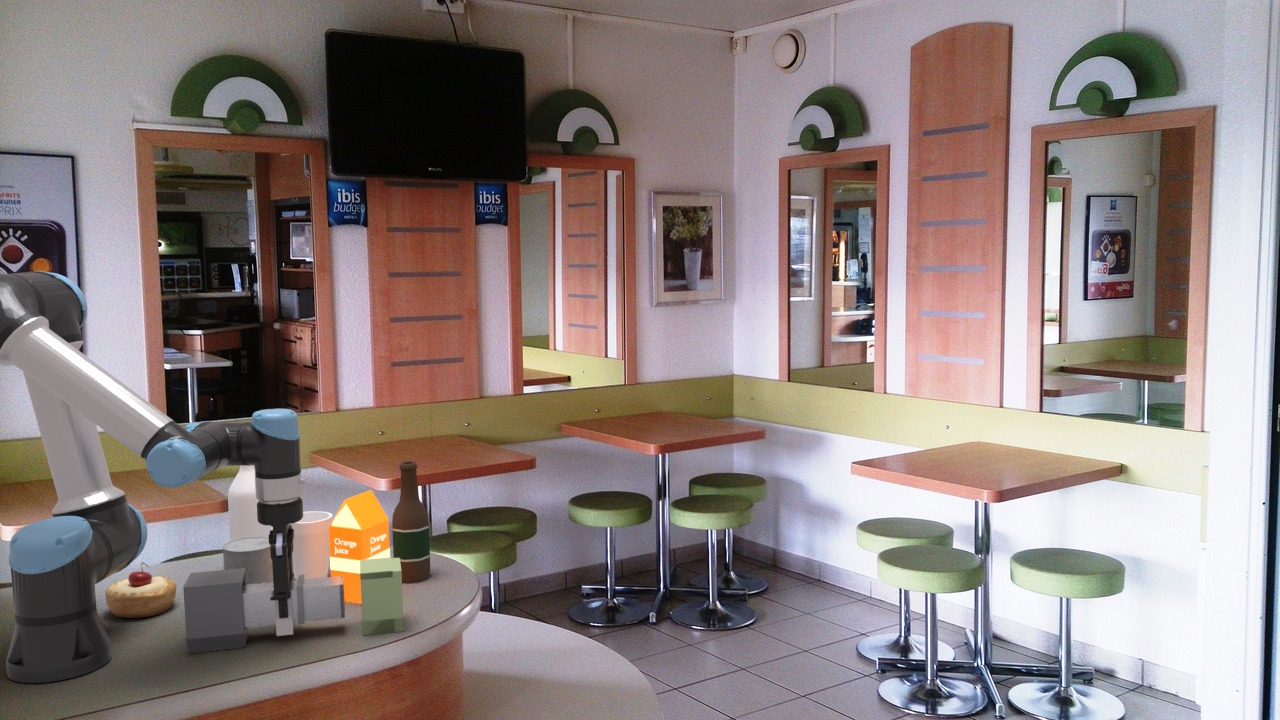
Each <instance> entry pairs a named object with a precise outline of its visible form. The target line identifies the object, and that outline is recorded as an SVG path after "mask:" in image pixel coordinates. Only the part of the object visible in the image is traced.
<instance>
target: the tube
mask: <svg viewBox="0 0 1280 720" xmlns="http://www.w3.org/2000/svg"><path fill="white" fill-rule="evenodd" d="M290 594H291V597H292V615H293V624H296V623H298V625H303V624H305V623H307V622H313V621H314V622H315V621H325V620H334V619H345V616H346V602H345V596H344V576H336V577H331V576H327V577H324V578H313V579H305V574H302V575H299V576H298V580H295V579H293V580H291V581H290ZM273 595H274V587H273V582H269V583H258V584H246V585H242V602H243V620H244V628H246V627H249V628H255V627H263V626H265V627H266V626H276V614H275V600H273V601H271V600H270V597H273Z"/></svg>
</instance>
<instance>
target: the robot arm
mask: <svg viewBox="0 0 1280 720" xmlns="http://www.w3.org/2000/svg"><path fill="white" fill-rule="evenodd" d="M87 316H88V303H87V299H86V297H85V295H84V293H83V291H82V290H81V289H80V287H79V286H78V285H77V284H76V283H75V282H74V281H72V280H71V279H69V278H68V277H66V276H64V275H62V274H59V273H55V272H47V271H41V270H37V271H27V272H16V273H15V272H14V273H0V364H1V365H2V366H15V367H17V369H19V370H21V371H22V373H23V376H24V380H25V384H26V387H27V390H28V391H27V392H28V395H29V398H30V401H31V406H32V409H33V414H34V417H35V421H36V423H37V426H38V430H39V433H40V437H41V440H42V441H41V442H42V445H43V449H44V451H45V455H46V460H47V462H48V466H49V469H50V473H51V477H52V480H53V485H54V488H55V491H56V494H57V498H58V500H57V502H56V503H55V505H54V507H53V509H52V510H51V514H52V517H48V518H44V519H43V520H38V521H33V522H31V523H28V524H27V525H24V526H23V527H21V528H19V529H18V530H16V532H15V533H14V534H13V535H12V537H11V538H10V541H9V555H8V563H9V566H10V575H11V586H12V600H13V609H14V610H13V611H14V622H15V628H14V631H13V633H12V638H11V642H10V645H9V648H8V653H7V656H6V659H5V669H6V676H7V678H8V679H10V680H12V681H13V682H19V683H25V684H40V683H51V682H58V681H63V680H68V679H72V678H76V677H80V676H83V675H86V674H88V673H90V672H93V671H95V670H97V669H99V668H101V667H103V666H104V665H106V664H107V663H108V662H110V660H111V659H112V656H113V653H112V643H111V640H110V638H109V635H108V633H107V630H105V626H104V625H103V622H102V621H101V619H100V616H99V614H98V611H97V610H98V609H97V598H96V597H97V596H96V595H97V594H96V585H97V584H98V583H101V582H102V581H104V580H105V579H107V578H109V577H110V576H112V575H114V574H117V573H119V572H121V571H123V570H124V569H126V568H128V567H129V566H130V565H131V564H132V563H133V562H134V561H135V560H137V558H138V557H139V556H140V555H141V554H142V552H143V550H144V549H145V546H146V544H147V541H148V527H147V522H146V520H145V516H144V515H143V514H142V513H141V511H140V510H139V509H138V508H137V509H136V508H135V507H134V506H133V505H132V504H130V503H128V500H127V497H126V494H125V491H124V490H122V489H120V488H118V487H117V486H114V484H113V482H112V479H111V476H110V471H109V467H108V463H107V460H106V456H105V452H104V450H103V445H102V442H101V438H100V434H99V431H98V428H97V427H99V428H100V429H102V431H105V433H106V434H108V435H110V436H111V437H112V438H114V439H115V440H116V441H118V442H120V443H121V444H122V445H123V446H125V447H126V448H127V449H129V450H131V452H133V453H134V454H135V455H137V456H139V457H140V458H141V459H142V460H144V461H145V462H146V463H145V466H146V470H147V472H148V475H149V476H150V478H151V480H152V481H154V483H156V484H157V485H159V486H161V487H164V488H167V489H168V488H169V489H171V488H172V489H173V488H174V489H175V488H176V489H177V488H180V487H182V486H186V485H190V484H192V483H194V482H196V481H197V480H199V479H200V478H202V477H204V476H206V475H208V474H211V473H213V472H215V471H216V470H219V469H220V468H223V467H228V466H229V467H230V466H231V467H232V466H233V467H234V466H235V467H236V466H237V467H238V466H239V467H240V466H241V465H244V466H250V465H254V468H255V489H256V498H257V499H258V500H260V501H258V503H257V520H258V522H259V523H260V524H262V525H266V526H267V525H270V526H271V528H272V529H271V530H270V534H269V544H270V550H271V559H272V567H273V587H274V595H273V597H270V600H271V601H273V600H275V614H276V625H275V626H276V627H275V628H276V629H275V631H276V633H275V634H276V637H281V636H288V635H289V636H291V635H294V623H293V615H292V597H291V594H290V581H291V580H297V579H295V577H294V572H293V560H292V552H293V539H294V529H292V526H291V524H290V523H292V524H293V523H296V522H298V521H300V520H301V519H302V518H303V512H304V506H303V499H302V497H301V495H302V494H303V487H302V485H305V483H306V479H305V478H304V477H302V478H301V476H302V474H301V473H302V469H301V443H300V442H301V441H300V440H301V433H300V428H299V420H298V414H297V413H296V411H295V410H292V409H290V408H268V409H267V408H266V409H260V410H258V411H257V410H256V411H254V412H253V413H252V416H251V421H246V422H245V421H244V422H243V421H242V422H241V421H240V422H239V421H238V422H237V421H235V422H234V421H210V420H205V421H201V422H190V423H188V424H186V425H185V426H184V427H183V426H181V425H180V424H179V423H178V422H176V421H175V420H174V419H172V418H171V417H169V416H168V415H167V414H165V413H164V412H162V411H161V410H160V409H158V408H157V407H156V406H154V405H153V404H151V402H149V401H148V400H146V399H145V398H144V397H142V396H141V395H140V394H138V393H136V391H134V390H133V389H131V388H130V387H129V386H127V385H126V384H124V383H123V382H121V381H120V380H119V379H118V378H117V377H116V376H114V375H112V374H111V373H110V372H108V371H107V370H105V368H103V367H101V366H100V365H99V364H98V363H97V362H95V361H93V360H92V359H91V358H90V357H88V356H87V355H86V354H84V353H83V352H81V351H80V349H81V347H82V346H83V344H84V338H83V334H82V330H81V328H82V327H83V325H84V322H85V320H86V319H87Z"/></svg>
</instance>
